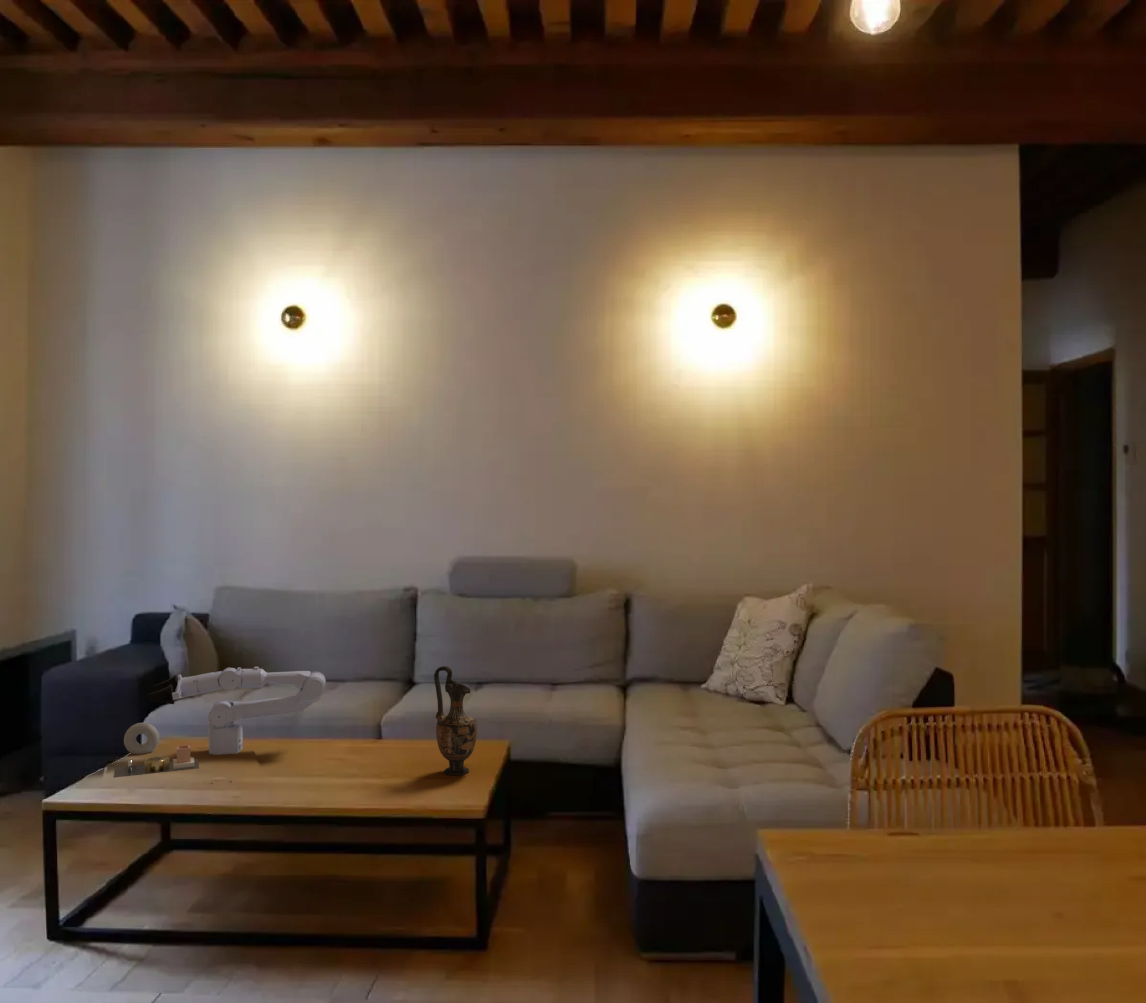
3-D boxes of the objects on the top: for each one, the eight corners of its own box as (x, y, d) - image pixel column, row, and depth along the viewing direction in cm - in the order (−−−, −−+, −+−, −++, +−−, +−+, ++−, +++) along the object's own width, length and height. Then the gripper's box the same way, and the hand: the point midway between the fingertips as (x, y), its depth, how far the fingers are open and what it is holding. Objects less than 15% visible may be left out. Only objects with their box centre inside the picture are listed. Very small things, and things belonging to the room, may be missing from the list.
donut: (122, 758, 283) (122, 724, 283) (125, 754, 287) (125, 722, 286) (158, 756, 285) (158, 723, 285) (160, 753, 289) (160, 720, 289)
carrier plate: (197, 762, 279) (197, 748, 279) (199, 771, 270) (199, 757, 270) (115, 771, 270) (115, 757, 270) (113, 781, 261) (113, 766, 261)
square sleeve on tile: (193, 761, 277) (193, 743, 277) (194, 766, 271) (194, 748, 271) (173, 763, 274) (172, 745, 274) (173, 768, 269) (173, 750, 269)
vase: (469, 778, 264) (469, 671, 263) (427, 776, 266) (427, 669, 266) (482, 766, 275) (482, 664, 275) (441, 764, 278) (441, 662, 277)
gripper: (199, 664, 292) (152, 673, 289) (192, 679, 278) (143, 689, 275) (203, 686, 293) (157, 695, 290) (197, 702, 279) (148, 712, 276)
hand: (150, 693), depth 283 cm, fingers open, 7 cm apart
